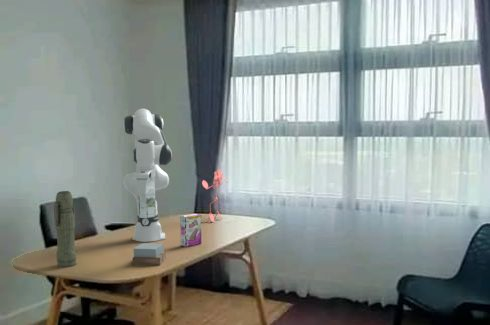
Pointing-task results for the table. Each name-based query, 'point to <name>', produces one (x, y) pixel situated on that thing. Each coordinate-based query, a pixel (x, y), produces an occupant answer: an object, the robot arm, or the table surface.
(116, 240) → the table surface
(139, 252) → the tower top
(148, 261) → the tower bottom
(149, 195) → the syrup box
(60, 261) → the thermos
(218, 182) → the figurine
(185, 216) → the candy bar box
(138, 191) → the robot arm
